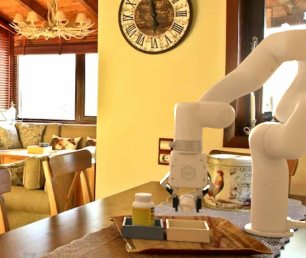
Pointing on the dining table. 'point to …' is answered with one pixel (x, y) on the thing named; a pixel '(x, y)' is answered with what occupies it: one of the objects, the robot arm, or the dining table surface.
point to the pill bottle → (143, 210)
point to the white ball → (186, 202)
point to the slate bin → (143, 230)
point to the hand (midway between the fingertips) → (186, 210)
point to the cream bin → (187, 230)
